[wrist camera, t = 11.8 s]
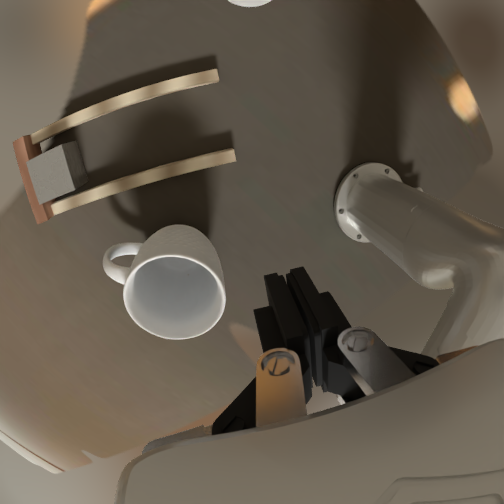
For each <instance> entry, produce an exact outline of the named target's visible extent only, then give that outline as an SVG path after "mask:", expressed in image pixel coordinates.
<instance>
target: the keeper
mask: <svg viewBox="0 0 504 504" xmlns="http://www.w3.org/2000/svg"><path fill="white" fill-rule="evenodd" d="M26 164H27V167H28V171H29V174H30V177H31V181H32V184H33V187H34V190H35V193H36V196H37V199H38V202H39V205H40V204H43V203H45V202H47V201H49V200H52V199H54V198H57V197H59V196H61V195H64V194H66V193H69V192H71V191H74V190H76V189H77V188H79V187H80V186H82V185H83V184H85V183H87V182H88V178H87V175H86V171H85V168H84V165H83V161H82V158H81V154H80V151H79V147H78V143H77V141H73V142H69V143H65V144H61V145H59V146H57V147H55V148H53V149H51V150H49V151H47V152H45V153H43V154H41V155H39V156H37V157H35V158H33V159H31V160H29V161H27V162H26Z"/></svg>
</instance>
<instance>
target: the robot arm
mask: <svg viewBox="0 0 504 504" xmlns="http://www.w3.org/2000/svg"><path fill="white" fill-rule="evenodd" d="M353 175H354V176H353ZM334 213H335V217H336V221H337V223H338V225H339V227H340V228H341V229H342V231H343V232H344V233H345V234H346V235H347V236H349V237H350V238H352V239H353V240H356V241H359V242H372V243H373V244H374V245H375V246H376V247H378V248H379V249H380V250H381V251H382V252H383V253H385V254H386V255H387V256H388V257H389V258H390V259H391V260H393V261H394V262H395V263H396V264H397V265H398V266H399V267H401V268H402V269H403V270H404V271H405V272H406V273H407V274H408V275H409V276H410V277H412V278H413V279H414V280H415V281H416V282H418V283H419V284H420V285H422V286H424V287H427V288H430V289H447V288H453V292H452V294H451V297H450V299H449V301H448V303H447V306H446V308H445V310H444V312H443V314H442V316H441V318H440V320H439V321H438V323H437V325H436V327H435V329H434V331H433V332H432V334H431V336H430V338H429V339H428V341H427V343H426V344H425V346H424V348H423V350H422V352H421V354H418V353H413V352H409V351H405V350H401V349H397V348H392V347H389V346H387V345H386V344H385V343H384V342H383V341H382V340H381V339H380V338H379V337H378V336H377V335H376V333H375V332H373V331H372V330H371V329H368V328H365V327H351V325H350V324H349V322H348V321H347V319H346V317H345V316H344V314H343V313H342V311H341V309H340V308H339V306H338V305H337V303H336V302H335V300H334V298H333V297H332V295H331V294H330V293H329V292H328V291H327V292H324V293H320V294H319V292H318V290H317V289H316V287H315V285H314V284H313V282H312V280H311V279H310V277H309V275H308V274H307V272H306V270H305V269H304V267H299V268H294V269H290V273H288V274H286V279H287V283H286V281H285V279H284V277H283V275H280V276H278V274H277V273H273V274H269V275H264V280H265V285H266V290H267V296H268V301H269V306H267V307H263V308H258V309H254V315H255V319H256V323H257V328H258V332H259V336H260V340H261V345H262V349H263V355H261V356H260V357H259V359H258V361H257V364H256V377H255V378H254V379H253V380H252V381H251V383H250V384H249V385H248V386H247V387H246V388H245V389H244V390H243V391H242V392H241V393H240V395H239V396H238V397H237V398H236V399H235V400H234V401H233V402H232V403H231V404H230V405H229V406H228V407H227V408H226V410H224V412H223V413H222V414H221V415H220V416H219V417H218V418H217V419H216V420H215V422H214V423H213V425H210V426H207V427H204V426H203V425H202V426H199V427H196V428H193V429H189V430H186V431H183V432H180V433H177V434H173V435H170V436H166V437H163V438H159V439H156V440H153V441H151V442H149V443H148V444H147V445H146V446H145V447H144V450H143V451H142V455H140V456H138V457H137V458H135V459H133V460H132V461H131V462H130V463H128V464H127V466H126V467H125V468H124V470H123V471H122V473H121V476H120V478H119V481H118V485H117V490H116V494H115V501H114V504H504V228H501V227H498V226H495V225H493V224H490V223H488V222H485V221H483V220H480V219H478V218H476V217H474V216H472V215H470V214H468V213H465V212H463V211H461V210H459V209H457V208H455V207H453V206H451V205H449V204H447V203H445V202H443V201H441V200H439V199H437V198H435V197H433V196H431V195H429V194H426V193H424V192H423V190H422V188H421V187H417V188H413V187H411V186H409V185H406V184H404V183H403V182H402V180H401V178H400V176H399V175H398V174H397V173H396V171H394V170H393V169H392V168H391V167H389V166H387V165H384V164H381V163H377V162H369V163H364V164H361V165H358V166H357V167H355V168H354V169H352V170H351V171H350V172H349V173H348V174H347V175H346V176H345V177H344V178H343V180H342V181H341V183H340V185H339V187H338V189H337V192H336V195H335V201H334ZM312 377H313V380H314V382H315V385H316V386H321V387H322V390H323V392H327V391H328V392H332V393H334V394H336V397H337V400H338V402H339V403H340V405H339V406H336V407H333V408H330V409H326V410H323V411H320V412H316V413H313V414H309V415H307V410H306V404H307V403H308V401H309V400H310V398H311V397H312V389H311V388H312V387H313V385H312V384H313V383H312Z"/></svg>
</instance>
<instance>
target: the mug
mask: <svg viewBox="0 0 504 504" xmlns="http://www.w3.org/2000/svg"><path fill="white" fill-rule="evenodd" d="M130 254H134V255H136V256H135V258H134V260H133V262H132V265H131V267H130V268H129V267H123V266H119V265H116V264H114V263H112V262H111V260H112V259H113V258H115V257H117V256H121V255H130ZM103 267H104V270H105V272H106V274H107V275H108V276H109V277H111V278H112V279H113V280H115V281H117V282H119V283H121V284H124V289H123V298H124V303H125V306H126V309H127V311H128V313H129V315H130V316H131V317H132V319H133V320H134V321H135V322H136V323H137V324H138V325H139V326H140V327H141V328H143V329H144V330H146V331H148V332H150V333H151V334H154V335H156V336H159V337H162V338H167V339H188V338H193V337H196V336H199V335H201V334H203V333H205V332H207V331H208V330H210V329H211V328H212V327H213V326H214V325H215V324H216V323H217V322H218V321H219V319H220V318H221V316H222V314H223V311H224V308H225V303H226V293H225V286H224V279H223V272H222V267H221V262H220V260H219V256H218V255H217V253H216V250H215V249H214V247H213V245H212V244H211V242H210V241H209V240H208V238H207V237H206V236H204V234H203V233H202V232H200V231H199V230H197V229H195V228H193V227H190V226H187V225H180V224H179V225H177V224H176V225H170V226H166V227H164V228H162V229H160V230H158V231H157V232H156V233H154V234H153V235H152V236H151V237H149V238H148V239H147V240H146V241H145V242H144V243H120V244H116V245H113V246H111V247H110V248H109V249H108V250H107V251H106V252H105V255H104V258H103Z"/></svg>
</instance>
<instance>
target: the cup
mask: <svg viewBox="0 0 504 504" xmlns="http://www.w3.org/2000/svg"><path fill="white" fill-rule="evenodd" d="M228 1H229V2H231V3H233V4H236V5H239V6H245V7H256V6H261V5H264V4H266V3H268V2H270V1H271V0H228Z"/></svg>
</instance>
